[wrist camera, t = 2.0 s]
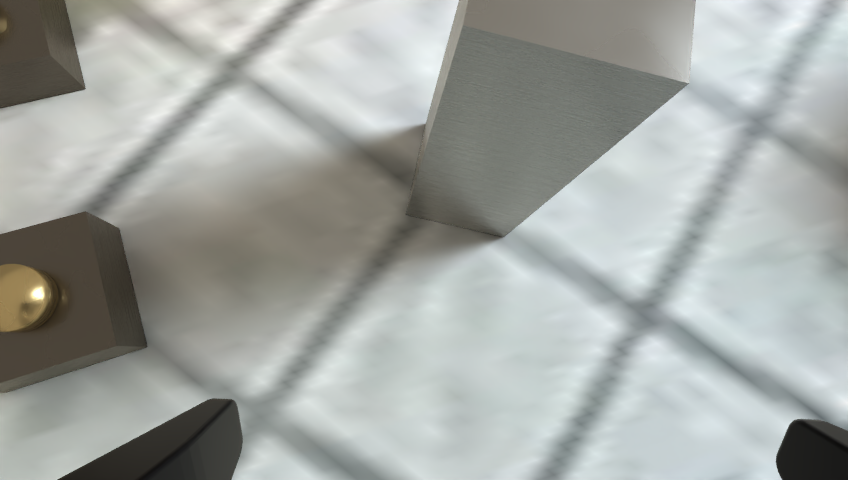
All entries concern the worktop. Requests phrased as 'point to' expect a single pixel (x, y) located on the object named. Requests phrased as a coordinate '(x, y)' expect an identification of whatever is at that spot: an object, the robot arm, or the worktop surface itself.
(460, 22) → the tall metal block
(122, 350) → the chain ends
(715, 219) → the worktop surface
